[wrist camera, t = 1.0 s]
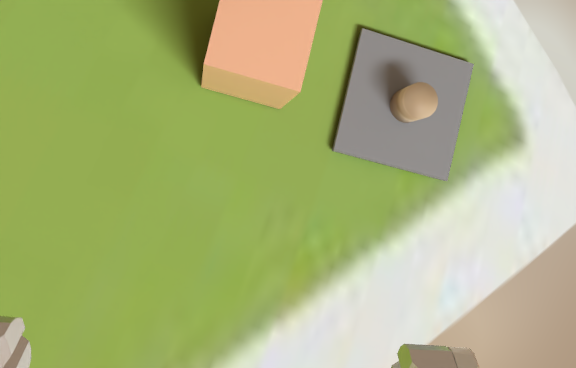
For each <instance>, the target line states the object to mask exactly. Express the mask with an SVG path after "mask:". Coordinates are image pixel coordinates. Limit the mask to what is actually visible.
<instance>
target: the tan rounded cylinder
mask: <svg viewBox="0 0 576 368" xmlns="http://www.w3.org/2000/svg"><path fill="white" fill-rule="evenodd" d="M437 105H438V96H437V93H436V91H435V90H434V88H433V87H432V86H431V85H429V84H427V83H424V82H417V83H414V84H412V85H410V86H408V87H405V88H403V89H401V90H399V91H397V92H396V93H395V94H394V95H393V96H392V98H391V101H390V110H391V113H392V115H393V116H394V117H395V118H396V119H397V120H398V121H400V122H403V123H409V122H413V121H416V120H420V119H423V118H427V117H429V116H431V115H432V114H433V113H434V112H435V110H436V108H437Z"/></svg>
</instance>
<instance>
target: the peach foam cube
mask: <svg viewBox="0 0 576 368" xmlns="http://www.w3.org/2000/svg"><path fill="white" fill-rule="evenodd" d="M321 5H322V0H220V1H219V5H218V9H217V13H216V17H215V21H214V25H213V29H212V33H211V37H210V41H209V45H208V49H207V53H206V57H205V61H204V65H203V75H202V85H201V87H202V88H206V89H209V90H213V91H216V92H220V93H224V94H227V95H231V96H234V97H238V98H241V99H245V100H249V101H252V102H256V103H259V104H263V105H267V106H270V107H274V108H277V109H281V108H282V107H283V106H284V105H285V104H287V103H288V102H289V101H290V100H291V99H293V98H294V97H295V96H296V95H297V94H299V93H300V92H301V87H302V83H303V79H304V75H305V71H306V67H307V63H308V58H309V54H310V50H311V46H312V42H313V38H314V34H315V29H316V25H317V21H318V17H319V13H320V9H321Z"/></svg>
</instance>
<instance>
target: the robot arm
mask: <svg viewBox="0 0 576 368" xmlns="http://www.w3.org/2000/svg"><path fill="white" fill-rule="evenodd" d="M24 329H25V326H24V323H23V320H22V318H20V317H8V316H0V368H29V365H30V361H31V347H30V343H29V341H28V340H27V339H26V338H24V337H23V336H22V333H23V331H24ZM398 358H399V361H398V362H397V363H395V364H393V365H392V367H391V368H479V365H478V363H477V360H476V358H475V355H474V353H473V352H472V350H471V349H468V348H455V347H446V346H433V345H431V346H430V345H415V344H404V345H402V346H401V347H400V349H399V351H398Z"/></svg>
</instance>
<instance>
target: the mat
mask: <svg viewBox="0 0 576 368" xmlns="http://www.w3.org/2000/svg"><path fill="white" fill-rule="evenodd" d="M473 65H474V64H472V63H469V62H466V61H463V60H460V59H457V58H454V57H450V56H447V55H444V54H441V53H438V52H435V51H432V50H429V49H426V48H423V47H419V46H416V45H413V44H410V43H407V42H404V41H401V40H398V39H395V38H392V37H388V36H385V35H382V34H379V33H376V32H373V31H370V30H367V29H364V28H362V29H361V30H360V35H359V39H358V43H357V47H356V51H355V56H354V60H353V64H352V68H351V73H350V77H349V81H348V85H347V89H346V94H345V98H344V102H343V106H342V111H341V115H340V119H339V123H338V127H337V132H336V136H335V140H334V144H333V148H332V151H335V152H339V153H343V154H346V155H350V156H354V157H357V158H361V159H365V160H369V161H372V162H376V163H380V164H384V165H387V166H391V167H395V168H398V169H402V170H406V171H410V172H413V173H417V174H421V175H425V176H428V177H432V178H436V179H440V180H443V181H447V180H448V176H449V171H450V167H451V162H452V158H453V154H454V149H455V145H456V140H457V136H458V131H459V127H460V123H461V118H462V114H463V109H464V105H465V100H466V96H467V92H468V87H469V83H470V78H471V74H472V69H473ZM417 82H424V83H427V84H429V85H431V86H432V87H433V88H434V90H435V91H436V93H437V96H438V105H437V108H436V110H435V112H434V113H433V114H432V115H431V116H429V117H427V118H423V119H420V120H416V121H413V122H409V123H403V122H400V121H398V120H397V119H396V118H395V117H394V116H393V115H392V113H391V110H390V101H391V98H392V96H393V95H394V94H395V93H396V92H397V91H399V90H401V89H403V88H405V87H408V86H410V85H412V84H414V83H417Z"/></svg>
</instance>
